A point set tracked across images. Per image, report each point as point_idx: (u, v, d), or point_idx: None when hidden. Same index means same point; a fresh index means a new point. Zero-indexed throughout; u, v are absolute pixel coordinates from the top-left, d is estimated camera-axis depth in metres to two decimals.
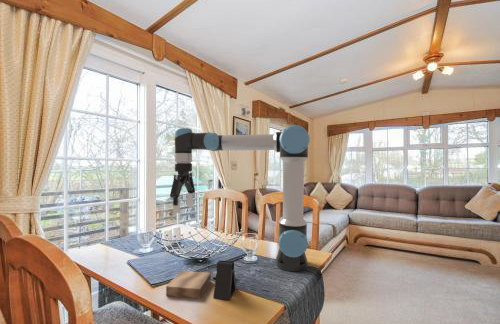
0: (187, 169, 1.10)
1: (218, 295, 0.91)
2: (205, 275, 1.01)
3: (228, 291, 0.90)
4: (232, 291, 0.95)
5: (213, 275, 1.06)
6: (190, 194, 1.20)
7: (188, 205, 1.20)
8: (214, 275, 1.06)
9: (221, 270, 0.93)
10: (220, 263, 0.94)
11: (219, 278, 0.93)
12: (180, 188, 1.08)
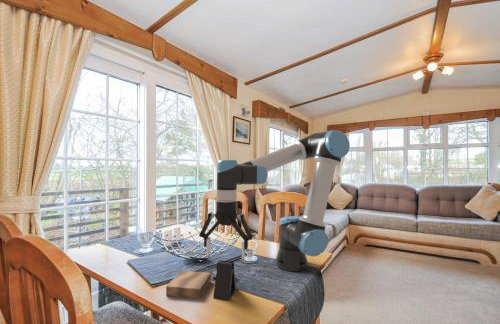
0: (218, 209, 0.92)
1: (218, 295, 0.91)
2: (205, 275, 1.01)
3: (228, 291, 0.90)
4: (232, 291, 0.95)
5: (213, 275, 1.06)
6: (242, 242, 0.93)
7: None
8: (214, 275, 1.06)
9: (221, 270, 0.93)
10: (220, 263, 0.94)
11: (219, 278, 0.93)
12: (211, 229, 0.94)
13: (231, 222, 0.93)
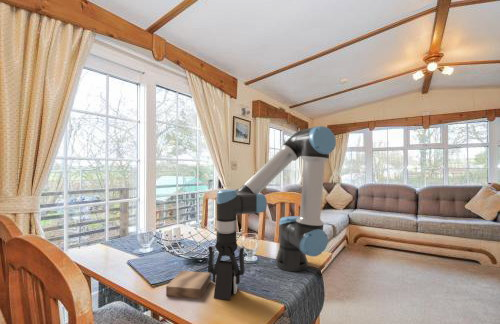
0: (218, 240, 0.92)
1: (218, 295, 0.91)
2: (205, 275, 1.01)
3: (228, 291, 0.90)
4: (232, 291, 0.95)
5: None
6: None
7: None
8: None
9: (222, 270, 0.93)
10: (220, 263, 0.94)
11: (220, 277, 0.93)
12: (216, 263, 0.94)
13: (231, 253, 0.93)
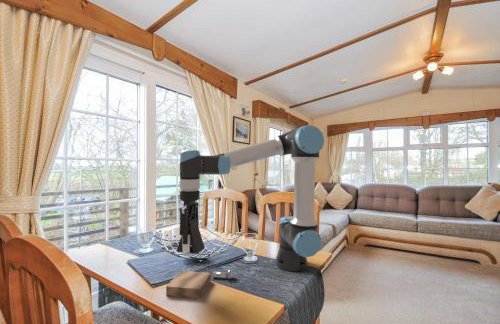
0: (194, 198, 0.95)
1: (199, 249, 0.96)
2: (205, 275, 1.01)
3: (202, 241, 0.99)
4: (191, 246, 1.00)
5: (213, 275, 1.06)
6: None
7: (191, 244, 1.01)
8: (214, 275, 1.06)
9: (193, 228, 0.96)
10: (191, 221, 0.96)
11: (194, 234, 0.96)
12: (189, 223, 0.94)
13: (196, 208, 1.00)
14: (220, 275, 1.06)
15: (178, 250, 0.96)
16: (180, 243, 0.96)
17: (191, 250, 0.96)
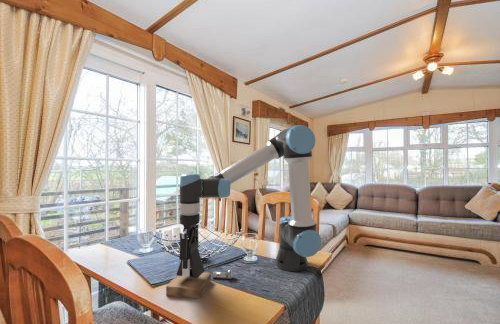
0: (194, 222, 0.95)
1: (199, 272, 0.96)
2: (205, 275, 1.01)
3: (202, 264, 0.99)
4: (190, 269, 1.01)
5: (213, 275, 1.06)
6: None
7: None
8: (214, 275, 1.06)
9: (193, 251, 0.97)
10: (191, 245, 0.96)
11: (194, 258, 0.96)
12: (189, 247, 0.94)
13: (196, 231, 1.00)
14: (220, 275, 1.06)
15: (178, 274, 0.96)
16: (180, 267, 0.96)
17: (191, 274, 0.97)
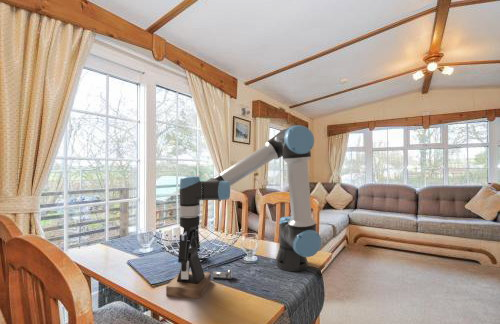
0: (194, 224, 0.95)
1: (199, 278, 0.96)
2: (205, 275, 1.01)
3: (202, 270, 1.00)
4: (191, 275, 1.01)
5: (213, 275, 1.06)
6: None
7: None
8: (214, 275, 1.06)
9: (193, 257, 0.97)
10: (191, 251, 0.96)
11: (194, 264, 0.96)
12: (188, 249, 0.94)
13: (196, 233, 1.00)
14: (220, 275, 1.06)
15: (178, 280, 0.96)
16: (180, 273, 0.96)
17: (191, 280, 0.97)
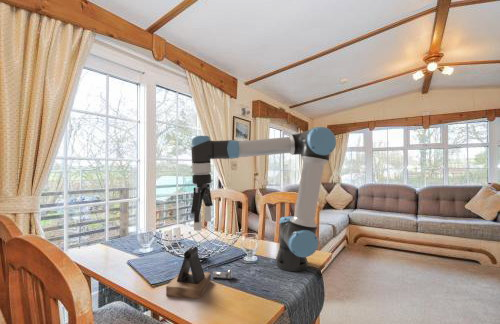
0: (207, 181, 1.00)
1: (199, 278, 0.96)
2: (205, 275, 1.01)
3: (202, 270, 1.00)
4: (191, 275, 1.01)
5: (213, 275, 1.06)
6: (208, 207, 1.09)
7: (206, 219, 1.09)
8: (214, 275, 1.06)
9: (193, 257, 0.97)
10: (191, 251, 0.96)
11: (194, 264, 0.96)
12: (201, 202, 0.97)
13: (207, 191, 1.05)
14: (220, 275, 1.06)
15: (178, 280, 0.96)
16: (180, 273, 0.96)
17: (191, 280, 0.97)
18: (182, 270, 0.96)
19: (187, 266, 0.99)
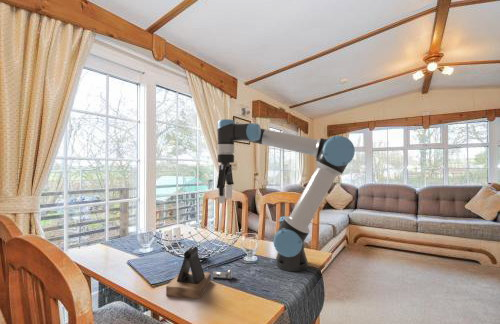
0: (231, 160, 1.11)
1: (199, 278, 0.96)
2: (205, 275, 1.01)
3: (202, 270, 1.00)
4: (191, 275, 1.01)
5: (213, 275, 1.06)
6: (229, 185, 1.20)
7: (227, 196, 1.21)
8: (214, 275, 1.06)
9: (193, 257, 0.97)
10: (191, 251, 0.96)
11: (194, 264, 0.96)
12: (225, 179, 1.08)
13: (230, 170, 1.16)
14: (220, 275, 1.06)
15: (178, 280, 0.96)
16: (180, 273, 0.96)
17: (191, 280, 0.97)
18: (182, 270, 0.96)
19: (187, 266, 0.99)
